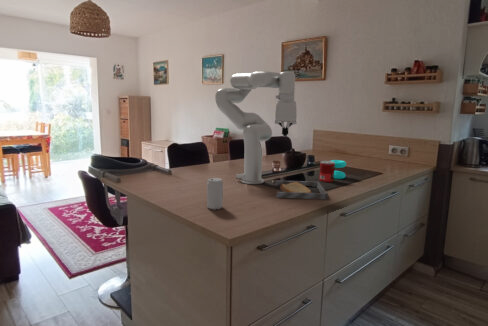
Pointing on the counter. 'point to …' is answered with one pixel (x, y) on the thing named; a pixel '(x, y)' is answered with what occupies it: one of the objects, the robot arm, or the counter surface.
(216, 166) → the counter surface
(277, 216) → the counter surface
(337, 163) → the donuts
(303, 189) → the bread slice
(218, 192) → the beverage can
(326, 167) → the canned food
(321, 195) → the corral
